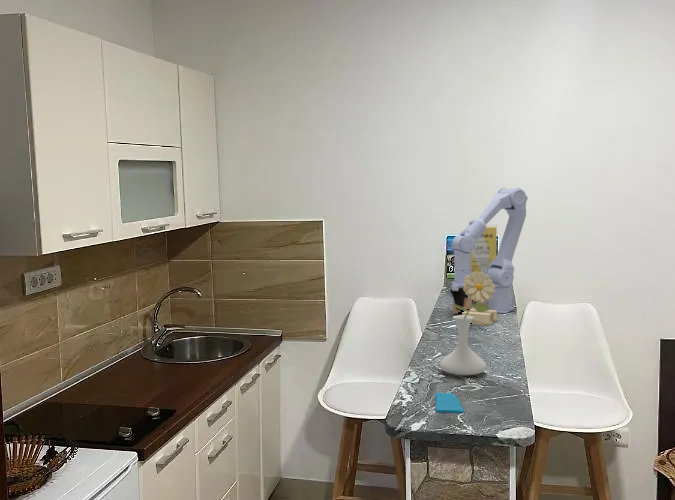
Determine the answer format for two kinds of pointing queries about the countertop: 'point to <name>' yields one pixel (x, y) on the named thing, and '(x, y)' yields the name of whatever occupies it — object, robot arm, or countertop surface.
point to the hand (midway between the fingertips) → (462, 308)
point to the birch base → (482, 316)
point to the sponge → (448, 403)
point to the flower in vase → (463, 356)
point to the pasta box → (484, 250)
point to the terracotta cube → (466, 304)
